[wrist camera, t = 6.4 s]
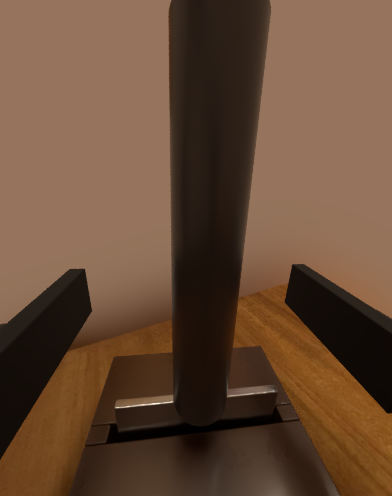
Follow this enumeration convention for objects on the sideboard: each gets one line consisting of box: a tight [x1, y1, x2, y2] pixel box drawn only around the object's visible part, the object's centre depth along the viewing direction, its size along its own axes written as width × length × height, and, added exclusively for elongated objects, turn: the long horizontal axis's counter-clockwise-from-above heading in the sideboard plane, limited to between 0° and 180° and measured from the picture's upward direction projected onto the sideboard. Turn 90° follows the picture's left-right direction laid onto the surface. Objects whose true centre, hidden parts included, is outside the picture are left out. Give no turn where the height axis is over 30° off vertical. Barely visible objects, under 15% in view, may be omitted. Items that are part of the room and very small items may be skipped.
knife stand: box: [68, 346, 341, 496], centre depth 11 cm, size 11×9×4 cm
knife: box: [114, 0, 278, 442], centre depth 8 cm, size 8×3×20 cm, turn 97°
